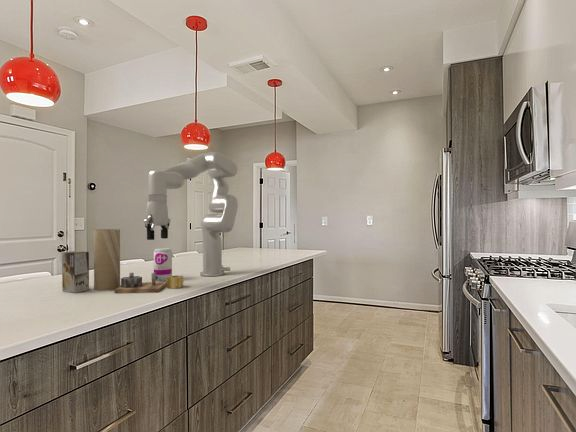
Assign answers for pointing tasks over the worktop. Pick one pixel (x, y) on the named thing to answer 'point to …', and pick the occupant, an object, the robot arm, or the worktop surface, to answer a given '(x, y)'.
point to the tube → (106, 259)
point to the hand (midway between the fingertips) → (157, 239)
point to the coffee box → (75, 271)
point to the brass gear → (174, 281)
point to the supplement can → (162, 263)
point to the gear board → (139, 285)
